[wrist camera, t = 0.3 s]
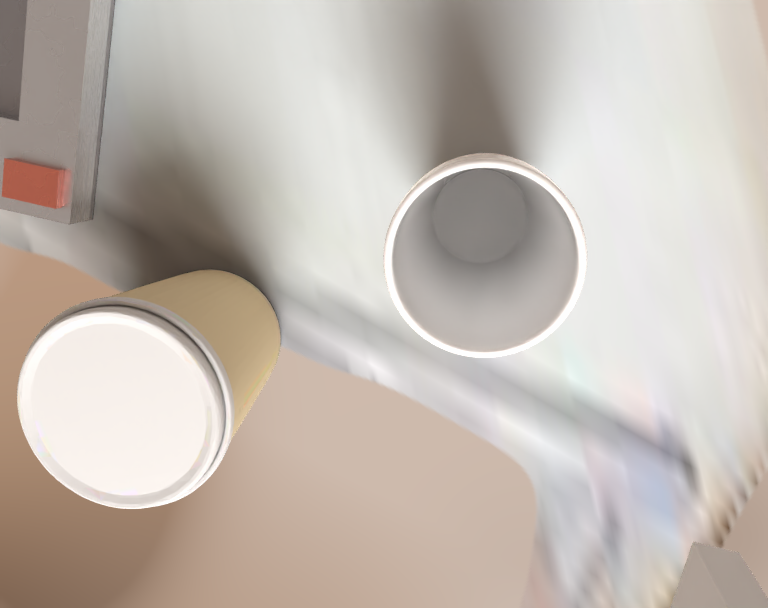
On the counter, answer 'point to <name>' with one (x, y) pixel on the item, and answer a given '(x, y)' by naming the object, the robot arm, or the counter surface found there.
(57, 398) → the coffee cup
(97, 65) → the socket plate
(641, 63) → the counter surface
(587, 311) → the counter surface
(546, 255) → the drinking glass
